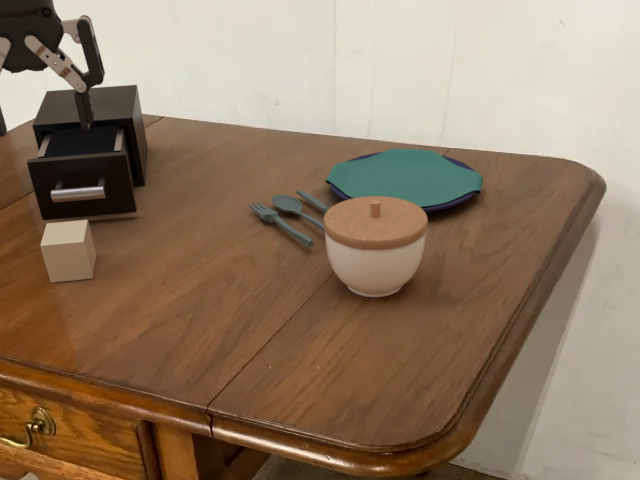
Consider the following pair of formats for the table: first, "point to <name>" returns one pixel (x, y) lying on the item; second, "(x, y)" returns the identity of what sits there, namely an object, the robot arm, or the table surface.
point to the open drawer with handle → (84, 173)
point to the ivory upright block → (68, 251)
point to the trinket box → (375, 243)
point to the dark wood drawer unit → (98, 119)
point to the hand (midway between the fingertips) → (44, 131)
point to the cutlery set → (386, 184)
